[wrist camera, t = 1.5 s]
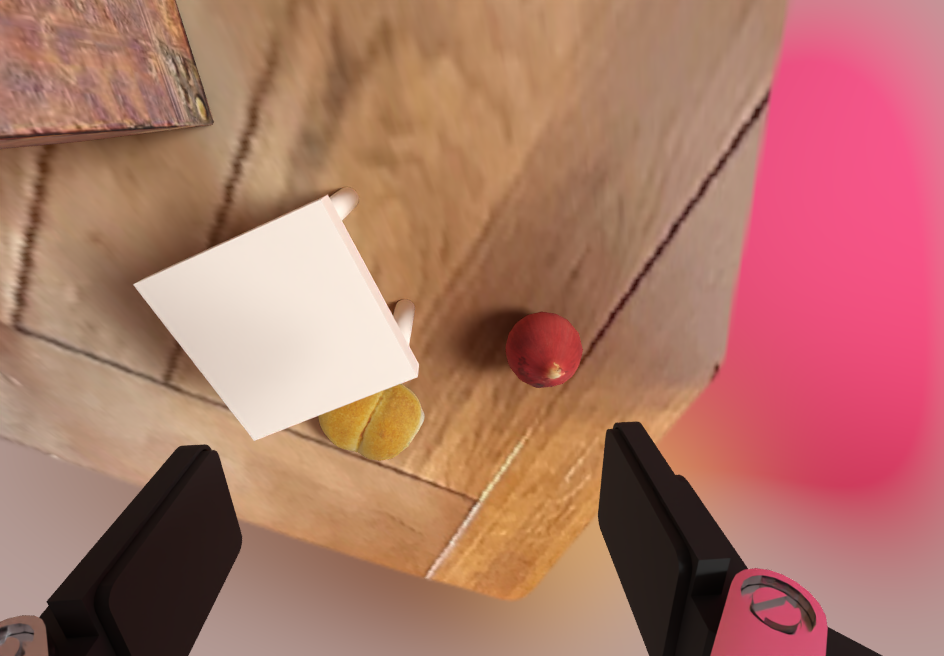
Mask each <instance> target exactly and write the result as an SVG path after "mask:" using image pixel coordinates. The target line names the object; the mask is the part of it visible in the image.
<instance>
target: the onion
mask: <svg viewBox="0 0 944 656" xmlns="http://www.w3.org/2000/svg"><path fill="white" fill-rule="evenodd" d="M582 351H583V349H582V345H581V341H580V337H579V333H578V332H577V331H576V329H575V328H574V327H573V326H572V325H571V323H570V322H569V321H568V320H567V319H565V318H563V317H561V316H559V315H557V314H554V313H547V312H539V313H534V314H530V315H527V316H525V317H524V318H523V319H521V320H520V321H518V322H517V323H516V324H515V325H514V327H513V328H512V330H511V331H510V333H509V335H508V339H507V343H506V355H507V360H508V364H509V366H510V368H511V369H512V371H513V372H514V373H515V374H516V376H517V377H518V378H519V379H520V380H522V381H523V382H525V383H527V384H529V385H531V386H533V387H536V388H542V387H552V386H556V385H559V384H563V383H564V382H565V381H567V380H568V379H569V378H571V377H572V376H573V374H574V373H575V371H576V370H577V368H578V366H579V364H580V360H581V356H582Z"/></svg>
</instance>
